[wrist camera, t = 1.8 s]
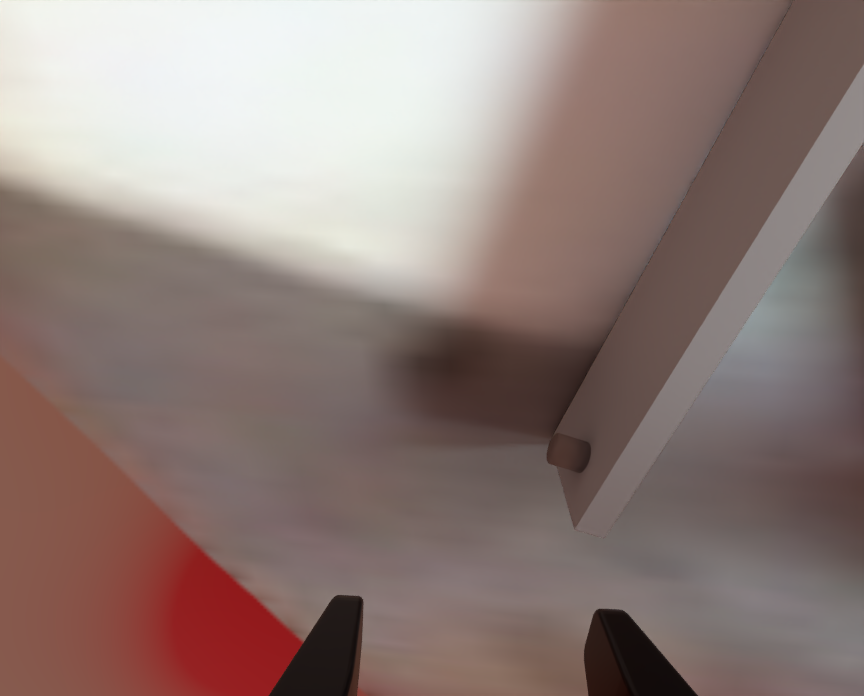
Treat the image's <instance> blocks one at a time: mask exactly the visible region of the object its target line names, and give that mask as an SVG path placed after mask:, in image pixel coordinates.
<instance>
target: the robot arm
mask: <svg viewBox="0 0 864 696" xmlns="http://www.w3.org/2000/svg"><path fill="white" fill-rule="evenodd" d="M362 627H363V599H362V598H361V597H360V596H348V595H337V596H335V597H334V598H333V599H332V600H331V601H330V603H329V605H328V606H327V608H326V609H325V611H324V612H323V614H322V615H321V617H320V618H319V620H318V621H317V623H316V624H315V626H314V627H313V629H312V630H311V632H310V634H309V635H308V637H307V638H306V640H305V641H304V643H303V644H302V646H301V647H300V649H299V650H298V652H297V654H296V655H295V656H294V658H293V660H292V661H291V663H290V664H289V666H288V667H287V669H286V671H285V672H284V673H283V675H282V677H281V678H280V679H279V681H278V682H277V684H276V686H275V687H274V688H273V690H272V692H271V693H270V695H269V696H357V689H358V679H359V668H360V657H361V645H362ZM584 664H585V672H586V680H587V687H588V695H589V696H698V695H697V694H696V693H695V692H694V691H693V689H692V688H691V687H690V686H689V685H688V684H687V682H686V681H685V680H684V679H683V678H682V677H681V675H680V674H679V673H678V672H677V671H676V670H675V668H674V667H673V666H672V665H671V664H670V663H669V661H668V660H667V659H666V658H665V657H664V656H663V654H662V653H661V652H660V651H659V650H658V649H657V647H656V646H655V645H654V644H653V643H652V641H651V640H650V639H649V638H648V637H647V636H646V634H645V633H644V632H643V631H642V630H641V629H640V627H639V626H638V625H637V624H636V623H635V622H634V620H633V619H632V618H631V617H630V616H629V615H628V614H627V613H626V612H625V611H623V610H617V609H598V610H596V611H595V613H594V615H593V618H592V622H591V625H590V629H589V633H588V636H587V640H586V644H585V649H584Z"/></svg>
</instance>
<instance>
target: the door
mask: <svg viewBox="0 0 864 696" xmlns="http://www.w3.org/2000/svg"><path fill="white" fill-rule="evenodd" d="M863 142H864V0H794V1H793V3H792V5H791V6H790V8H789V10H788V12H787V14H786V15H785V17H784V19H783V21H782V23H781V24H780V26H779V28H778V30H777V32H776V33H775V35H774V37H773V39H772V41H771V42H770V44H769V46H768V48H767V50H766V52H765V53H764V55H763V57H762V59H761V61H760V62H759V64H758V66H757V68H756V70H755V71H754V73H753V75H752V77H751V79H750V80H749V82H748V84H747V86H746V88H745V89H744V91H743V93H742V95H741V97H740V99H739V100H738V102H737V104H736V106H735V108H734V109H733V111H732V113H731V115H730V117H729V118H728V120H727V122H726V124H725V126H724V127H723V129H722V131H721V133H720V135H719V136H718V138H717V140H716V142H715V144H714V145H713V147H712V149H711V151H710V153H709V155H708V156H707V158H706V160H705V162H704V164H703V165H702V167H701V169H700V171H699V173H698V174H697V176H696V178H695V180H694V182H693V183H692V185H691V187H690V189H689V191H688V192H687V194H686V196H685V198H684V200H683V201H682V203H681V205H680V207H679V209H678V211H677V212H676V214H675V216H674V218H673V220H672V221H671V223H670V225H669V227H668V229H667V230H666V232H665V234H664V236H663V238H662V239H661V241H660V243H659V245H658V247H657V248H656V250H655V252H654V254H653V256H652V258H651V259H650V261H649V263H648V265H647V267H646V268H645V270H644V272H643V274H642V276H641V277H640V279H639V281H638V283H637V285H636V286H635V288H634V290H633V292H632V294H631V295H630V297H629V299H628V301H627V303H626V304H625V306H624V308H623V310H622V312H621V314H620V315H619V317H618V319H617V321H616V323H615V324H614V326H613V328H612V330H611V332H610V333H609V335H608V337H607V339H606V341H605V342H604V344H603V346H602V348H601V350H600V351H599V353H598V355H597V357H596V359H595V361H594V362H593V364H592V366H591V368H590V370H589V371H588V373H587V375H586V377H585V379H584V380H583V382H582V384H581V386H580V388H579V389H578V391H577V393H576V395H575V397H574V398H573V400H572V402H571V404H570V406H569V407H568V409H567V411H566V413H565V415H564V417H563V418H562V420H561V422H560V424H559V426H558V427H557V429H556V431H555V433H554V435H553V436H552V438H551V440H550V443H549V446H548V450H547V461H548V463H549V464H552V465H555V466H557V469H558V473H559V476H560V480H561V483H562V487H563V490H564V494H565V498H566V501H567V505H568V508H569V512H570V515H571V519H572V523H573V526H574V530H577V531H581V532H584V533H588V534H591V535H594V536H598V537H601V538H605V537H606V535H607V534H608V532H609V531H610V529H611V528H612V526H613V525H614V523H615V522H616V520H617V518H618V517H619V515H620V514H621V512H622V511H623V509H624V508H625V506H626V505H627V503H628V502H629V500H630V499H631V497H632V496H633V494H634V493H635V491H636V489H637V488H638V486H639V485H640V483H641V482H642V480H643V479H644V477H645V476H646V474H647V473H648V471H649V470H650V468H651V467H652V465H653V463H654V462H655V460H656V459H657V457H658V456H659V454H660V453H661V451H662V450H663V448H664V447H665V445H666V444H667V442H668V441H669V439H670V437H671V436H672V434H673V433H674V431H675V430H676V428H677V427H678V425H679V424H680V422H681V421H682V419H683V418H684V416H685V415H686V413H687V412H688V410H689V408H690V407H691V405H692V404H693V402H694V401H695V399H696V398H697V396H698V395H699V393H700V392H701V390H702V389H703V387H704V386H705V384H706V382H707V381H708V379H709V378H710V376H711V375H712V373H713V372H714V370H715V369H716V367H717V366H718V364H719V363H720V361H721V360H722V358H723V356H724V355H725V353H726V352H727V350H728V349H729V347H730V346H731V344H732V343H733V341H734V340H735V338H736V337H737V335H738V334H739V332H740V330H741V329H742V327H743V326H744V324H745V323H746V321H747V320H748V318H749V317H750V315H751V314H752V312H753V311H754V309H755V308H756V306H757V305H758V303H759V301H760V300H761V298H762V297H763V295H764V294H765V292H766V291H767V289H768V288H769V286H770V285H771V283H772V282H773V280H774V279H775V277H776V275H777V274H778V272H779V271H780V269H781V268H782V266H783V265H784V263H785V262H786V260H787V259H788V257H789V256H790V254H791V253H792V251H793V249H794V248H795V246H796V245H797V243H798V242H799V240H800V239H801V237H802V236H803V234H804V233H805V231H806V230H807V228H808V227H809V225H810V224H811V222H812V220H813V219H814V217H815V216H816V214H817V213H818V211H819V210H820V208H821V207H822V205H823V204H824V202H825V201H826V199H827V198H828V196H829V194H830V193H831V191H832V190H833V188H834V187H835V185H836V184H837V182H838V181H839V179H840V178H841V176H842V175H843V173H844V172H845V170H846V168H847V167H848V165H849V164H850V162H851V161H852V159H853V158H854V156H855V155H856V153H857V152H858V150H859V149H860V147H861V146H862V144H863Z"/></svg>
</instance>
